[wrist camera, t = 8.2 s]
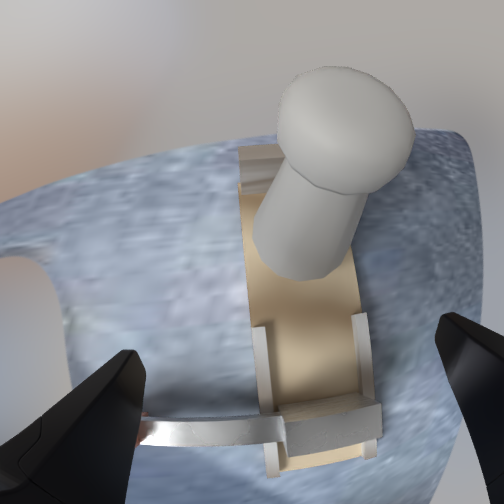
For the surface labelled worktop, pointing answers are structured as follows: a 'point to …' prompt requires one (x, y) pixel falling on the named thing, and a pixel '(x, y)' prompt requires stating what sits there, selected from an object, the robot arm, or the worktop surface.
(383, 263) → the worktop surface
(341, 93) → the salt shaker
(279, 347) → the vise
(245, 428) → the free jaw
